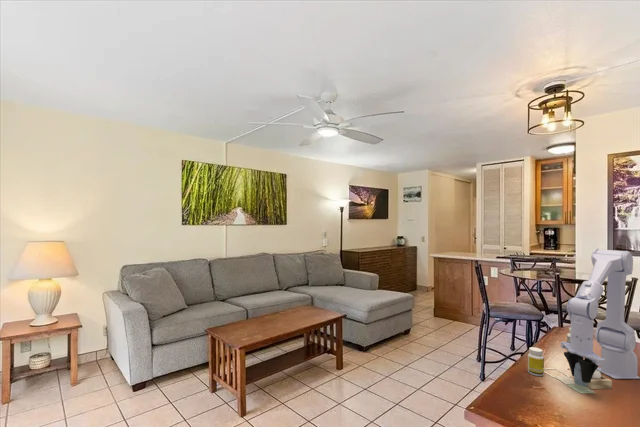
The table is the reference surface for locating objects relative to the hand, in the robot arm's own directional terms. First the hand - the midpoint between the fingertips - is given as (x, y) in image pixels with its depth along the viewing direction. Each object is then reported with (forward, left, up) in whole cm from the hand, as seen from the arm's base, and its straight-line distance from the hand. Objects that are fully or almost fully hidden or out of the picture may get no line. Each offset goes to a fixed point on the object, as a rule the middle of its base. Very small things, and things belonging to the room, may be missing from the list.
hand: (581, 379), depth 107 cm
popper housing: (-7, -4, -3) cm, 8 cm away
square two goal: (0, 0, -3) cm, 3 cm away
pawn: (0, 0, -2) cm, 2 cm away
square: (0, -6, -3) cm, 6 cm away
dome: (-7, -4, -2) cm, 8 cm away
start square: (0, -11, -3) cm, 11 cm away
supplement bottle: (+7, -11, -3) cm, 13 cm away
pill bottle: (-23, -28, -3) cm, 36 cm away
